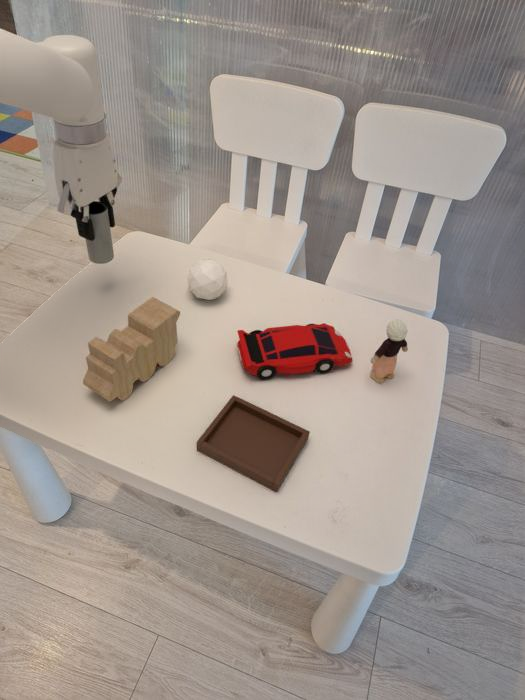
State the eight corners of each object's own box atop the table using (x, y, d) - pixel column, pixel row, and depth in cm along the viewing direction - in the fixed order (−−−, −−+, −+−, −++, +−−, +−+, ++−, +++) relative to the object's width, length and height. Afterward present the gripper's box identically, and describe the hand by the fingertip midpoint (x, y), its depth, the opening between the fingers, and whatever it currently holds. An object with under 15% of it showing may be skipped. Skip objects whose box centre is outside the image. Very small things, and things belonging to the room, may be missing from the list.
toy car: (356, 369, 93) (362, 349, 89) (246, 388, 88) (248, 368, 84) (334, 328, 99) (339, 309, 96) (231, 344, 95) (232, 324, 91)
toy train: (86, 395, 84) (74, 352, 77) (158, 337, 95) (154, 294, 87) (111, 412, 82) (101, 369, 75) (182, 351, 93) (180, 308, 85)
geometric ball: (197, 302, 106) (180, 266, 104) (233, 286, 106) (217, 250, 103) (197, 310, 99) (178, 271, 96) (236, 293, 99) (218, 254, 96)
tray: (196, 450, 79) (196, 442, 77) (232, 402, 85) (233, 394, 84) (276, 492, 75) (277, 485, 73) (308, 439, 81) (309, 431, 80)
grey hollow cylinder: (111, 265, 96) (103, 215, 89) (86, 263, 96) (76, 213, 89) (116, 251, 100) (109, 202, 92) (92, 249, 99) (83, 199, 92)
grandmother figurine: (385, 359, 95) (403, 306, 86) (402, 372, 93) (423, 319, 84) (357, 379, 91) (373, 326, 82) (374, 393, 89) (393, 340, 80)
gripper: (99, 107, 88) (112, 205, 101) (20, 140, 77) (46, 246, 89) (135, 118, 86) (143, 217, 98) (59, 154, 75) (80, 260, 87)
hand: (97, 230), depth 94 cm, fingers closed on grey hollow cylinder, 4 cm apart
